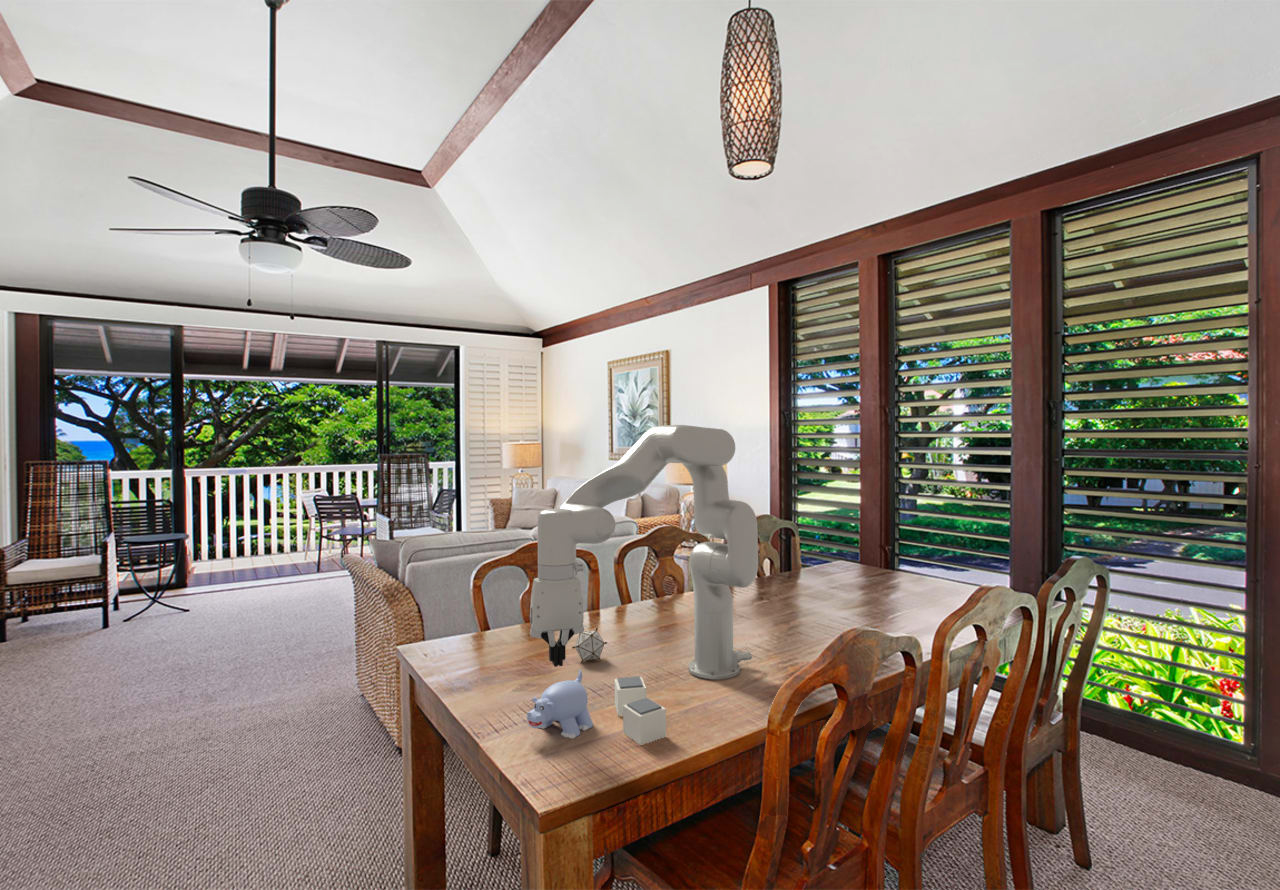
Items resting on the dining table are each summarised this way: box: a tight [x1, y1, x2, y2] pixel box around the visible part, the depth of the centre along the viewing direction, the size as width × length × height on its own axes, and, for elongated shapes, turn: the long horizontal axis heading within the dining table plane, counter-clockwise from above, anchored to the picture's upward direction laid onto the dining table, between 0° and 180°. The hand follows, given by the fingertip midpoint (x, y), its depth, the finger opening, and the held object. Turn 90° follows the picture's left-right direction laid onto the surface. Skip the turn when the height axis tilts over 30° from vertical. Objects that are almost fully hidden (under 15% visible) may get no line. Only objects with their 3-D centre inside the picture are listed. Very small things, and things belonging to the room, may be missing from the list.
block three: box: [613, 675, 647, 717], centre depth 133 cm, size 6×6×6 cm
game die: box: [571, 627, 608, 664], centre depth 162 cm, size 9×8×10 cm
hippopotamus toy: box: [526, 669, 594, 740], centre depth 124 cm, size 11×15×10 cm
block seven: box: [622, 697, 667, 746], centre depth 121 cm, size 6×6×6 cm
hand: (557, 663), depth 123 cm, fingers closed
